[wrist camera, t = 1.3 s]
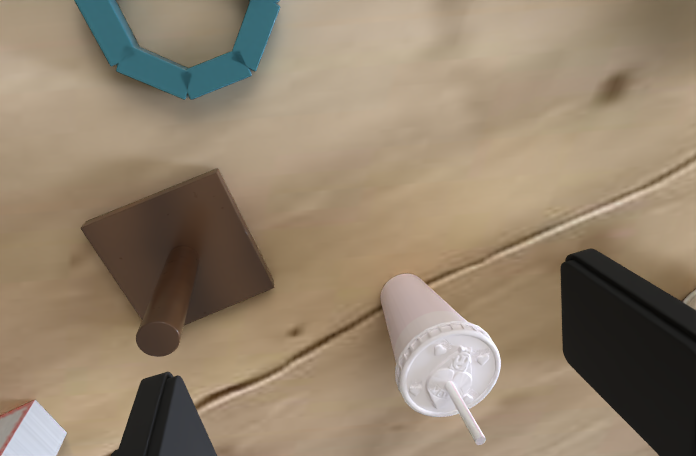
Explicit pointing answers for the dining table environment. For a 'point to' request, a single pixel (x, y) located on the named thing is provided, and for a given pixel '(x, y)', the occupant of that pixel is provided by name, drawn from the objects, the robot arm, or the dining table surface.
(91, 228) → the brown peg stand
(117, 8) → the ring
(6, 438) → the white milk carton
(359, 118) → the dining table surface
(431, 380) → the smoothie
